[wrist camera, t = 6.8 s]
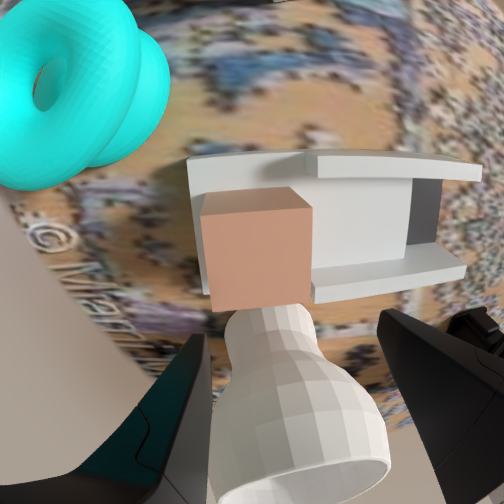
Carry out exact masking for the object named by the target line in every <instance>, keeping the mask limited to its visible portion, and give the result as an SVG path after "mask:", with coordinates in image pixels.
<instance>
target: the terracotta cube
mask: <svg viewBox="0 0 504 504" xmlns="http://www.w3.org/2000/svg"><path fill="white" fill-rule="evenodd" d="M200 220H201V229H202V237H203V245H204V253H205V261H206V269H207V276H208V283H209V291H210V298H211V304H212V311H213V312H219V311H231V310H242V309H252V308H262V307H272V306H281V305H290V304H298V303H307V302H310V289H311V265H312V227H313V207H312V206H310V205H309V204H308V203H307V202H306V201H305V200H304V199H303V198H302V197H300V196H299V195H298V194H297V193H296V192H295V191H294V190H293V189H291V188H290V187H289V186H288V187H270V188H255V189H241V190H229V191H217V192H206V194H205V198H204V202H203V206H202V210H201V214H200Z"/></svg>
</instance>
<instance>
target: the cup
mask: <svg viewBox="0 0 504 504" xmlns="http://www.w3.org/2000/svg"><path fill="white" fill-rule="evenodd" d="M224 338H225V343H226V347H227V352H228V356H229V359H230V362H231V365H232V371H231V379H230V382H229V383H228V385H227V386H226V388H225V389H224V391H223V392H222V394H221V396H220V397H219V399H218V401H217V402H216V405H215V407H214V410H213V413H212V418H211V432H210V446H209V461H208V477H209V480H210V484H211V487H212V490H213V493H214V496H215V499H216V502H217V504H341V503H343V502H346V501H348V500H350V499H352V498H354V497H356V496H358V495H360V494H362V493H364V492H366V491H367V490H369V489H370V488H372V487H373V486H375V485H376V484H378V483H379V482H380V481H381V480H382V479H383V478H384V477H385V476H386V475H387V473H388V472H389V470H390V468H391V461H390V453H389V446H388V439H387V433H386V427H385V422H384V420H383V418H382V416H381V414H380V412H379V410H378V408H377V406H376V404H375V402H374V400H373V398H372V397H371V396H370V395H369V394H368V392H367V391H366V390H365V389H364V388H363V387H362V386H361V385H360V384H359V383H358V382H357V381H356V380H355V379H354V378H352V377H351V376H350V375H349V374H348V373H347V372H346V371H345V370H344V369H342V368H340V367H338V366H336V365H335V364H333V363H331V362H329V361H328V360H326V359H325V357H324V356H323V354H322V353H321V351H320V350H319V348H318V347H317V340H316V333H315V329H314V325H313V321H312V318H311V316H310V313H309V312H308V311H307V310H306V309H305V307H304V306H302V305H301V304H299V303H298V304H290V305H281V306H272V307H262V308H252V309H242V310H237V311H236V312H235V313H234V314H233V315H232V316H231V317H230V319H229V321H228V323H227V325H226V327H225V335H224Z"/></svg>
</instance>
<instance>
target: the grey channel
mask: <svg viewBox="0 0 504 504" xmlns="http://www.w3.org/2000/svg"><path fill="white" fill-rule="evenodd" d="M187 170H188V180H189V189H190V198H191V207H192V215H193V223H194V231H195V239H196V246H197V254H198V261H199V268H200V274H201V281H202V287H203V294H204V295H206V294H210V291H209V283H208V276H207V269H206V261H205V253H204V245H203V237H202V229H201V220H200V214H201V210H202V206H203V202H204V198H205V194H206V192H217V191H229V190H241V189H255V188H270V187H288V186H289V187H290V188H291V189H293V190H294V191H295V192H296V193H297V194H298V195H299V196H300V197H302V198H303V199H304V200H305V201H306V202H307V203H308V204H309V205H310V206H312V207H313V227H312V265H311V289H310V296H311V298H312V300H313V302H314V304H319V303H327V302H334V301H341V300H348V299H354V298H361V297H367V296H373V295H379V294H385V293H391V292H397V291H402V290H408V289H413V288H419V287H424V286H429V285H434V284H439V283H444V282H449V281H454V280H458V279H463V278H464V275H465V271H466V267H467V264H465V263H464V262H463V261H461V260H460V259H458V258H457V257H455V256H454V255H453V254H451V253H450V252H448V251H447V250H445V249H444V248H442V247H441V246H439V245H438V244H436V243H435V238H436V232H437V225H438V218H439V210H440V201H441V191H442V179H451V180H467V181H481V176H482V165H479V164H476V163H472V162H468V161H465V160H461V159H457V158H453V157H449V156H444V155H438V154H428V153H417V152H404V151H388V150H366V149H285V150H262V151H246V152H232V153H220V154H209V155H199V156H191V157H190V158H188V159H187Z"/></svg>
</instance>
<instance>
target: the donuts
mask: <svg viewBox="0 0 504 504" xmlns="http://www.w3.org/2000/svg"><path fill="white" fill-rule="evenodd" d="M44 65H45V66H44ZM43 66H44V68H43V69H42V67H43ZM41 69H42V72H41V74H40V76H39V78H38V81H37V84H36V88H35V92H34V98H33V85H34V82H35V79H36V77H37V75H38V73H39V71H40V70H41ZM169 92H170V72H169V66H168V63H167V60H166V57H165V55H164V53H163V51H162V49H161V48H160V46H159V45H158V44H157V42H156V41H155V40H154V39H153V38H152V37H151V36H150V35H148V34H147V33H146V32H144V31H142V30H140V29H138V27H137V24H136V21H135V19H134V17H133V15H132V13H131V11H130V10H129V8H128V7H127V5H126V4H125V3H124V2H123V1H122V0H23V1H21V2H20V3H18V4H17V5H16V6H15V7H13V8H12V9H11V10H10V11H9V12H8V13H7V14H5V15H4V16H3V18H2V19H1V20H0V184H1V185H3V186H5V187H8V188H11V189H15V190H22V191H36V190H42V189H47V188H50V187H53V186H55V185H58V184H60V183H63V182H65V181H67V180H69V179H70V178H72V177H74V176H75V175H77V174H78V173H79V172H81V171H82V170H83V169H85V168H86V167H100V166H105V165H108V164H111V163H114V162H117V161H119V160H121V159H123V158H125V157H127V156H128V155H130V154H131V153H133V152H134V151H135V150H137V149H138V148H139V147H140V146H141V145H142V144H143V143H144V142H145V141H146V140H147V139H148V138H149V137H150V135H151V134H152V133H153V131H154V130H155V128H156V127H157V125H158V124H159V122H160V120H161V118H162V116H163V114H164V111H165V108H166V105H167V102H168V98H169Z"/></svg>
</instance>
